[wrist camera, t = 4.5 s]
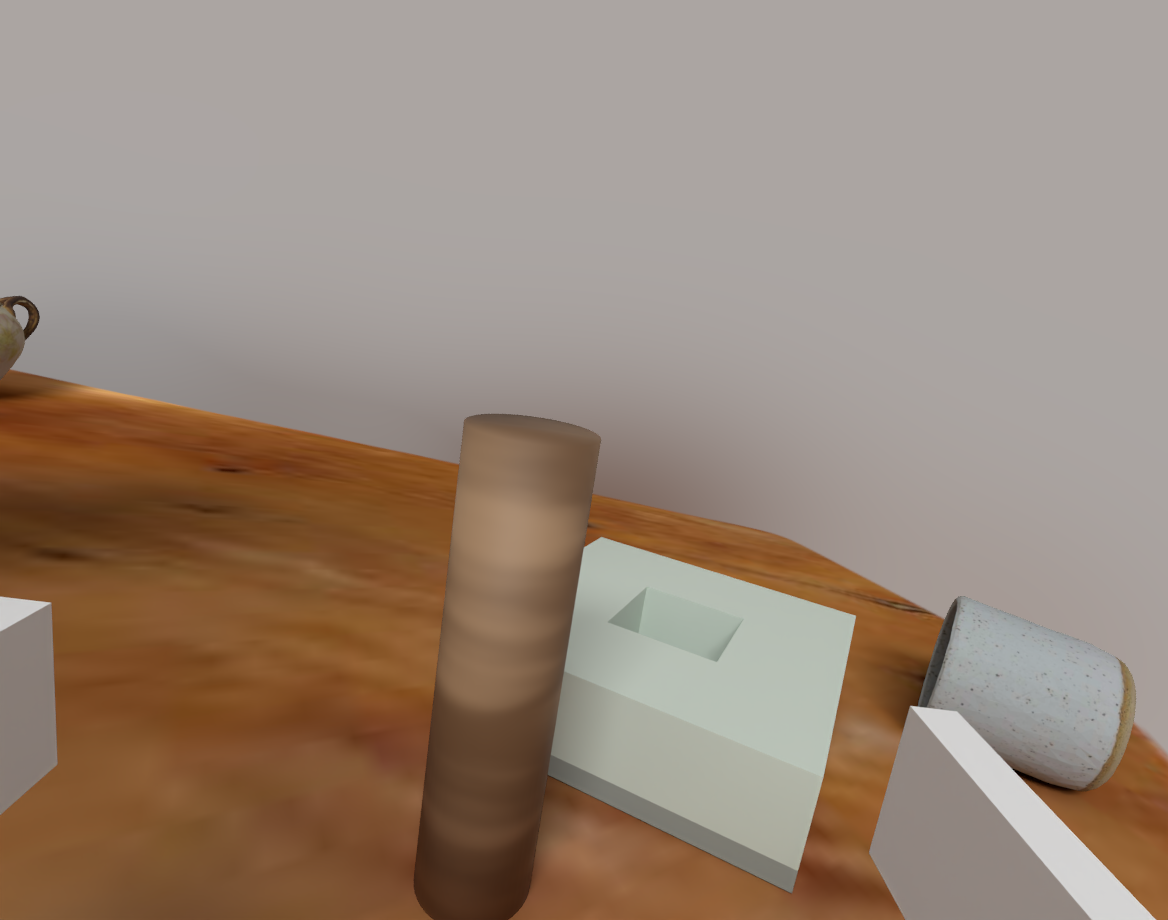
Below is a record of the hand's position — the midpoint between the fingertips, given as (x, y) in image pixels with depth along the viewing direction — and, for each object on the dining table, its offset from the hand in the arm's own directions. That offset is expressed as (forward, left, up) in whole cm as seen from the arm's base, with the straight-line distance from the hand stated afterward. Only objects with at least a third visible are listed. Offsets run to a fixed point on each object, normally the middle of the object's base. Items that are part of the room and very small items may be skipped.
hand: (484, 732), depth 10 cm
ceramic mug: (+32, -13, -13) cm, 37 cm away
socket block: (+23, +3, -13) cm, 27 cm away
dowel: (+9, +5, -13) cm, 17 cm away
